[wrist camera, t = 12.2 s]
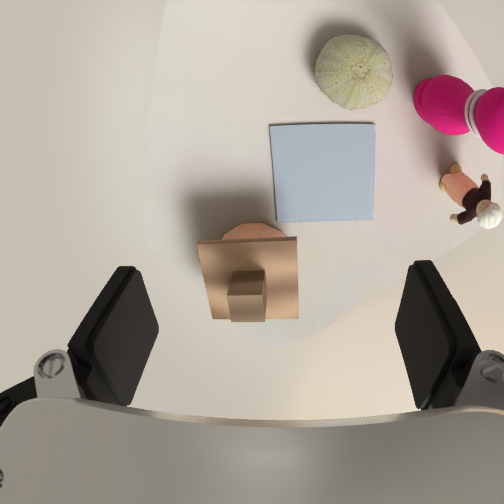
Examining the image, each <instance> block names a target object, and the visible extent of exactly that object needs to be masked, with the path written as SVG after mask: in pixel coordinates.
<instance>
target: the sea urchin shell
mask: <svg viewBox="0 0 504 504" xmlns="http://www.w3.org/2000/svg"><path fill="white" fill-rule="evenodd" d="M392 77H393V76H392V70H391V62H390V59H389V57H388V54H387V52H386V50H385V49H384V48H383V47H382V46H381V45H380V44H378V43H377V42H375V41H373V40H371V39H370V38H368V37H362V36H358V35H354V34H346V35H338V36H336V37H334V38H331V40H330V41H329V42H328V43H327V44H326V45H325V46H324V47H323V48H322V49H321V52H320V54H319V56H318V57H317V60H316V67H315V79H316V82H317V83H318V86H319V87H320V89H321V91H322V92H323V93H324V94H325V95H326V96H327V97H328V98H329V99H330V100H332V102H335V103H336V104H338V105H340V106H341V107H343V108H346V109H351V110H353V109H360V108H365V107H368V106H370V105H373V104H375V103H378V102H379V101H380V100H381V99H382V98H384V97H385V96H386V95H387V94H388V92H389V90H390V88H391V83H392Z"/></svg>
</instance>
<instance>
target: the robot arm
mask: <svg viewBox="0 0 504 504" xmlns="http://www.w3.org/2000/svg"><path fill="white" fill-rule="evenodd" d="M158 331H159V327H158V323H157V320H156V317H155V314H154V311H153V308H152V305H151V303H150V300H149V297H148V294H147V291H146V288H145V285H144V281H143V278H142V275H141V273H140V271H138V270H136V268H135V267H134V266H119V267H118V268H117V269H116V271H115V272H114V274H113V275H112V276H111V278H110V279H109V281H108V282H107V284H106V285H105V287H104V288H103V290H102V291H101V293H100V294H99V296H98V297H97V299H96V300H95V302H94V303H93V305H92V306H91V308H90V310H89V311H88V313H87V314H86V316H85V317H84V319H83V320H82V322H81V324H80V325H79V327H78V328H77V330H76V332H75V333H74V335H73V336H72V338H71V340H70V341H69V343H68V347H69V349H68V351H67V352H65V351H63V350H60V349H59V350H51V351H48V352H47V353H45V354H43V355H42V356H41V357H40V358H39V359H38V361H37V363H36V364H35V367H34V376H33V377H31V378H29V379H27V380H25V381H23V382H21V383H19V384H17V385H15V386H13V387H11V388H9V389H7V390H5V391H3V392H2V393H0V504H504V355H503V354H501V353H500V352H497V351H494V350H486V351H481V349H480V348H479V345H478V343H477V341H476V339H475V337H474V335H473V333H472V331H471V329H470V327H469V325H468V323H467V321H466V319H465V317H464V315H463V313H462V312H461V310H460V308H459V306H458V304H457V302H456V300H455V299H454V298H453V297H452V295H451V293H450V291H449V289H448V288H447V286H446V284H445V282H444V281H443V279H442V277H441V276H440V274H439V272H438V271H437V269H436V267H435V266H434V264H433V262H432V261H431V260H417V261H415V262H414V264H413V265H410V266H409V268H408V273H407V277H406V282H405V286H404V290H403V295H402V299H401V303H400V307H399V311H398V314H397V318H396V322H395V332H396V336H397V339H398V342H399V346H400V349H401V353H402V356H403V359H404V363H405V366H406V370H407V374H408V378H409V381H410V385H411V389H412V393H413V397H414V401H415V405H416V407H417V408H418V409H421V411H415V412H407V413H399V414H390V415H380V416H370V417H359V418H345V419H327V420H246V419H227V418H213V417H202V416H191V415H182V414H173V413H165V412H158V411H151V410H144V409H138V408H132V407H126V406H127V405H130V404H131V402H132V399H133V397H134V394H135V391H136V388H137V386H138V383H139V381H140V378H141V376H142V373H143V370H144V368H145V365H146V363H147V360H148V358H149V355H150V352H151V350H152V348H153V345H154V342H155V340H156V338H157V335H158Z"/></svg>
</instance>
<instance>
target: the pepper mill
mask: <svg viewBox="0 0 504 504" xmlns="http://www.w3.org/2000/svg"><path fill="white" fill-rule="evenodd" d="M414 105H415V108H416V111H417V113H418V114H419V116H420V117H421V118H422V119H423V120H424V121H426V122H427V123H430V124H431V125H432V126H433V127H434V128H435V129H436V130H438V131H440V132H442V133H445V134H449V135H460V134H465V133H467V132H469V131H471V132H472V133H473V134H474V135H475V136H476V137H478V138H479V139H482V140H483V141H484V142H485V143H486V145H487V146H488V147H490V148H491V149H492V150H494V151H496V152H498V153H500V154H504V88H502V87H496V88H492V89H490V90H485V89H480V90H477V91H474V90H473V89H472V88H471V87H470V86H469V85H468V84H467V83H465V82H464V81H463V80H461V79H459V78H456V77H453V76H449V75H441V76H437V77H435V78H429V79H426V80H423V81H422V82H421V83H420V84H419V85H418V86H417V88H416V90H415V94H414Z"/></svg>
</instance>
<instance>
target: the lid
mask: <svg viewBox="0 0 504 504" xmlns="http://www.w3.org/2000/svg"><path fill="white" fill-rule="evenodd" d="M197 248H198V253H199V258H200V263H201V267H202V272H203V277H204V282H205V286H206V291H207V296H208V300H209V304H210V308H211V313H212V318H213V319H231V322H265V319H297V318H299V307H298V263H297V237H270V238H245V239H221V240H199V241H198V243H197Z"/></svg>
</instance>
